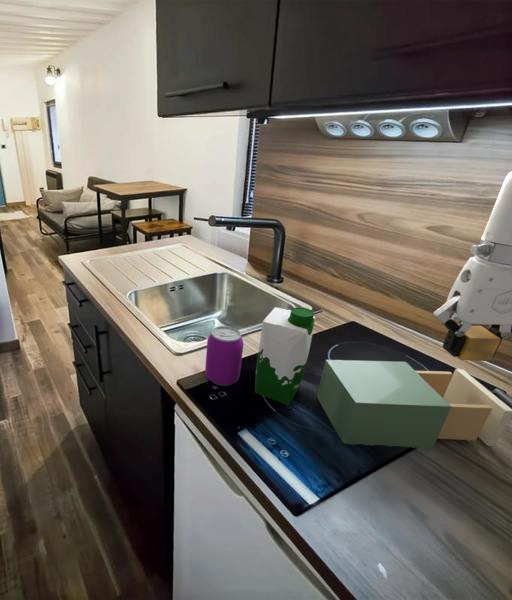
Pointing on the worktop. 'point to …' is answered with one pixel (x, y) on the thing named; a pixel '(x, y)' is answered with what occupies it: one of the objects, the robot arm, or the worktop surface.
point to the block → (479, 344)
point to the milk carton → (283, 353)
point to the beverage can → (224, 355)
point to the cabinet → (381, 403)
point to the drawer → (470, 406)
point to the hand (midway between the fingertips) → (467, 351)
